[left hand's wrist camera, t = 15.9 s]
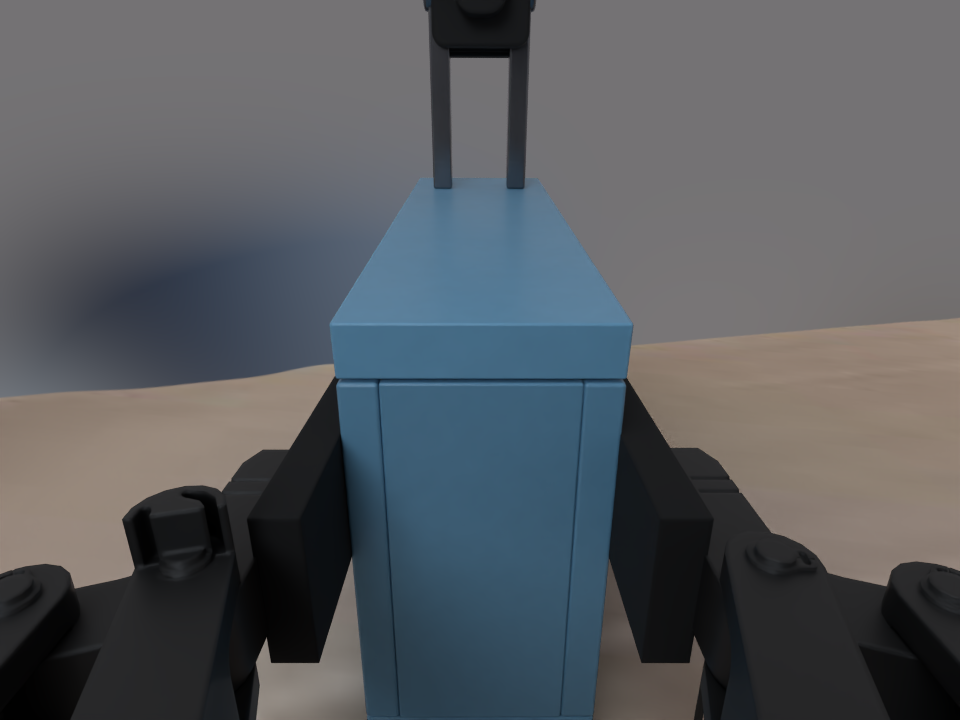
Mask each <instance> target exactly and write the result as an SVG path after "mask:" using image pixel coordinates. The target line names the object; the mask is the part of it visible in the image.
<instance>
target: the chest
mask: <svg viewBox="0 0 960 720" xmlns="http://www.w3.org/2000/svg"><path fill="white" fill-rule="evenodd" d="M336 389H337V400H338V411H339V421H340V432H341V443H342V454H343V464H344V475H345V486H346V496H347V507H348V518H349V528H350V539H351V550H352V562H353V573H354V583H355V594H356V605H357V616H358V627H359V637H360V648H361V659H362V670H363V681H364V692H365V702H366V712H367V720H593V712H594V703H595V693H596V683H597V673H598V663H599V653H600V643H601V633H602V623H603V613H604V603H605V593H606V583H607V573H608V563H609V549H610V538H611V528H612V518H613V507H614V497H615V487H616V476H617V466H618V456H619V445H620V435H621V433H622V423H623V413H624V403H625V393H626V384H625V382H624V381H623V379H339V381H338V383H337V386H336Z"/></svg>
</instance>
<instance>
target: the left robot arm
mask: <svg viewBox="0 0 960 720" xmlns="http://www.w3.org/2000/svg"><path fill="white" fill-rule="evenodd" d="M338 381H339V379H338V378H336V376H335V377H334V379H333V380H332V382H331V383H330V385H329V387H328V388H327V390H326V391H325V393H324V395H323V396H322V398H321V400H320V401H319V403H318V404H317V406H316V408H315V409H314V411H313V412H312V414H311V416H310V417H309V419H308V420H307V422H306V424H305V425H304V427H303V429H302V430H301V432H300V433H299V435H298V437H297V438H296V440H295V441H294V443H293V445H292V446H291V448H290V450H262V451H260V452H259V453H257V454H256V455H254V456H253V457H251V458H250V459H248V460H247V461H245V462H244V463H243V464H242V465H241V466H240V468H239V469H238V471H237V472H236V473H235V475H234V476H233V477H232V481H231V482H229V483H228V484H227V485H226V487H225V488H224V489H223V491H222V492H220V491H219V490H218V489H216V488H212V487H207V486H183V487H179V488H174V489H170V490H166V491H163V492H161V493H158V494H156V495H153V496H151V497H148V498H146V499H145V500H143V501H142V502H140V503H139V504H137V505H136V506H134V507H132V508H131V509H130V511H129V512H128V513H127V514H126V515H125V516H124V518H123V519H122V521H123V525H124V528H125V532H126V536H127V540H128V544H129V548H130V551H131V555H132V559H133V563H134V567H135V570H134V572H133V574H132V576H129V577H126V578H122V579H119V580H114V581H109V582H104V583H100V584H95V585H90V586H86V587H81V588H76V589H75V588H74V585H73V582H72V579H71V575H70V573H69V572H68V571H67V570H65V569H64V568H63V567H61V566H57V565H49V564H41V565H33V566H26V567H22V568H18V569H15V570H13V571H12V570H11V571H8V572H5V573H2V574H0V720H256V715H257V705H258V696H259V686H260V685H259V678H258V672H257V666H256V660H257V658H258V656H259V653H260V651H261V649H262V647H263V644H264V642H265V640H266V637H267V641H268V647H269V653H270V659H271V663H319V661H320V658H321V655H322V651H323V648H324V645H325V642H326V639H327V635H328V632H329V629H330V626H331V622H332V619H333V616H334V613H335V609H336V606H337V603H338V600H339V596H340V593H341V590H342V587H343V584H344V580H345V577H346V574H347V571H348V567H349V564H350V561H351V558H352V550H351V539H350V528H349V518H348V507H347V496H346V486H345V475H344V464H343V454H342V443H341V432H340V421H339V411H338V400H337V389H336V386H337V383H338ZM623 381H624V382H625V384H626V393H625V403H624V413H623V423H622V433H621V435H620V445H619V456H618V466H617V476H616V487H615V497H614V507H613V518H612V528H611V538H610V549H609V559H610V562H611V566H612V569H613V572H614V575H615V579H616V582H617V585H618V588H619V591H620V595H621V598H622V601H623V604H624V608H625V611H626V614H627V617H628V621H629V624H630V627H631V630H632V633H633V637H634V640H635V643H636V646H637V650H638V653H639V656H640V659H641V663H689V662H690V656H691V651H692V645H693V639H694V635H695V638H696V640H697V642H698V645H699V647H700V649H701V652H702V654H703V656H704V658H705V661H704V666H703V672H702V677H701V683H700V688H699V694H698V699H697V705H696V710H695V717H694V720H702V718H703V713H704V720H960V571H958V570H955V569H952V568H947V567H946V566H942V565H938V564H931V563H924V562H909V563H902V564H900V565H898V566H897V567H896V568H894V569H893V570H892V571H891V575H890V578H889V581H888V584H887V587H886V586H882V585H877V584H872V583H868V582H863V581H858V580H853V579H849V578H844V577H840V576H836V575H833V574H829V573H827V571H826V568H825V567H824V565H823V564H822V563H821V561H820V560H819V558H818V557H817V556H816V555H815V554H814V553H812V552H811V551H810V550H808V549H807V548H806V547H804V546H803V545H802V544H800V543H797V542H795V541H793V540H791V539H789V538H787V537H784V536H781V535H777V534H773V533H771V532H770V531H769V529H768V528H767V527H766V525H765V524H764V522H763V521H762V520H761V518H760V517H759V516H758V514H757V513H756V512H755V510H754V509H753V508H752V506H751V505H750V504H749V502H748V501H747V500H746V498H745V497H744V496H743V494H742V493H739V489H738V488H737V486H736V485H735V484H734V482H733V481H732V480H730V479H729V475H728V474H727V473H726V471H725V470H724V469H723V467H722V466H721V465H720V463H719V462H718V461H717V460H715V459H714V458H712V457H711V456H709V455H708V454H706V453H705V452H703V451H702V450H700V449H699V448H670V447H669V445H668V444H667V442H666V440H665V439H664V437H663V436H662V434H661V432H660V431H659V429H658V428H657V426H656V424H655V423H654V421H653V420H652V418H651V416H650V415H649V413H648V411H647V410H646V408H645V407H644V405H643V403H642V402H641V400H640V399H639V397H638V395H637V394H636V392H635V391H634V389H633V387H632V386H631V384H630V382H629V381H628V379H627V378H626V379H623Z"/></svg>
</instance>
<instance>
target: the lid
mask: <svg viewBox="0 0 960 720" xmlns="http://www.w3.org/2000/svg"><path fill="white" fill-rule="evenodd" d="M423 3H424V9H425V11H427V12H428V15H429V48H430V80H431V113H432V145H433V178H420V179H419V181H418V183H417V184H416V186H415V187H414V189H413V191H412V192H411V194H410V195H409V197H408V199H407V200H406V202H405V203H404V205H403V207H402V208H401V210H400V211H399V213H398V215H397V216H396V218H395V220H394V221H393V223H392V224H391V226H390V228H389V229H388V231H387V232H386V234H385V236H384V237H383V239H382V240H381V242H380V244H379V245H378V247H377V248H376V250H375V252H374V253H373V255H372V257H371V258H370V260H369V261H368V263H367V265H366V266H365V268H364V269H363V271H362V273H361V274H360V276H359V277H358V279H357V281H356V282H355V284H354V286H353V287H352V289H351V290H350V292H349V294H348V295H347V297H346V298H345V300H344V302H343V303H342V305H341V306H340V308H339V310H338V311H337V313H336V315H335V316H334V318H333V319H332V321H331V322H330V334H331V342H332V351H333V359H334V368H335V376H336V378H338V379H626V377H627V372H628V364H629V356H630V348H631V340H632V332H633V323H632V322H631V320H630V319H629V317H628V315H627V314H626V312H625V311H624V309H623V308H622V306H621V305H620V303H619V302H618V300H617V299H616V297H615V296H614V294H613V293H612V291H611V290H610V288H609V286H608V285H607V283H606V282H605V280H604V279H603V277H602V276H601V274H600V273H599V271H598V270H597V268H596V267H595V265H594V264H593V262H592V261H591V259H590V258H589V256H588V254H587V253H586V251H585V250H584V248H583V247H582V245H581V244H580V242H579V241H578V239H577V238H576V236H575V234H574V233H573V232H572V230H571V228H570V227H569V225H568V224H567V222H566V221H565V219H564V218H563V216H562V215H561V213H560V212H559V210H558V209H557V207H556V206H555V204H554V202H553V201H552V199H551V198H550V196H549V195H548V193H547V192H546V190H545V189H544V187H543V186H542V184H541V183H540V181H539V180H538V178H525V164H526V135H527V108H528V79H529V51H530V33H529V37H528V39H527V42H526V43H525V44H524V45H523V46H522V47H520V48H509V65H508V66H509V67H508V112H507V158H506V178H452V125H451V65H450V48H441V47H440V46H438V45H437V44H436V43H435V41H434V39H433V36H432V23H431V0H423ZM535 6H536V0H531V1H530V22H531V12H533V11H534V10H535Z"/></svg>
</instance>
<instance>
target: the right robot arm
mask: <svg viewBox="0 0 960 720" xmlns="http://www.w3.org/2000/svg"><path fill="white" fill-rule="evenodd" d="M530 1H531V0H431V23H432V36H433V39H434V41H435V43H436V44H437V45H438V46H440V47H441V48H450V58H509V48H520V47H522V46H523V45H524V44H525V43H526V42H527V39H528V37H529V33H530Z"/></svg>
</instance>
